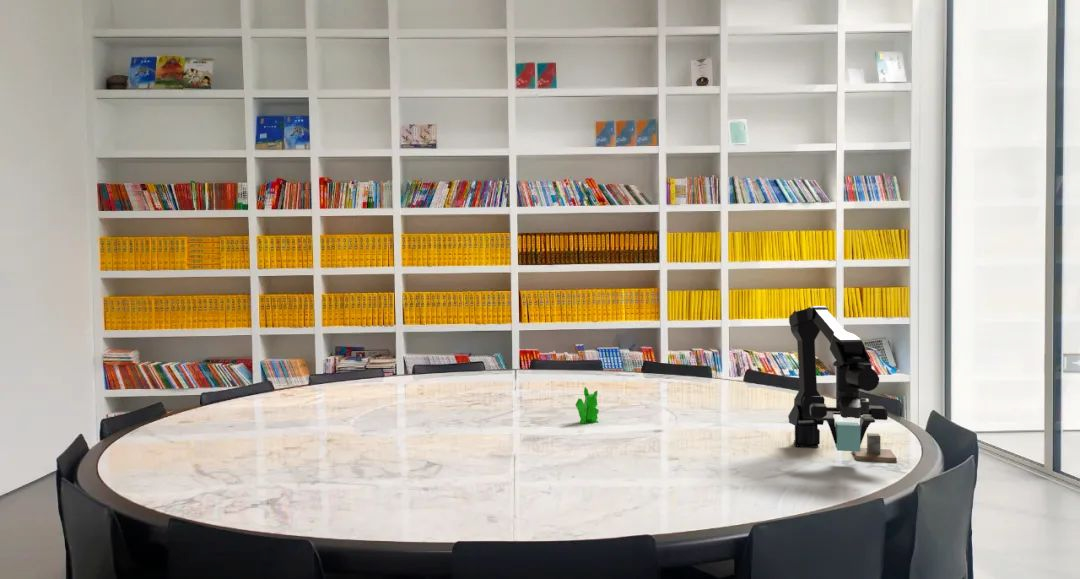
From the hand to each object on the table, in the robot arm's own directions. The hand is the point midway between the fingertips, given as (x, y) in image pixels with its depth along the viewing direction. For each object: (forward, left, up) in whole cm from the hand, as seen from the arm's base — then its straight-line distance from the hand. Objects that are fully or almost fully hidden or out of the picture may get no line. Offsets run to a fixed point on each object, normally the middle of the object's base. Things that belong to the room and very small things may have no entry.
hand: (847, 443), depth 205 cm
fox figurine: (-78, +40, -6) cm, 88 cm away
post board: (+8, +11, -6) cm, 15 cm away
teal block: (0, 0, -1) cm, 1 cm away
